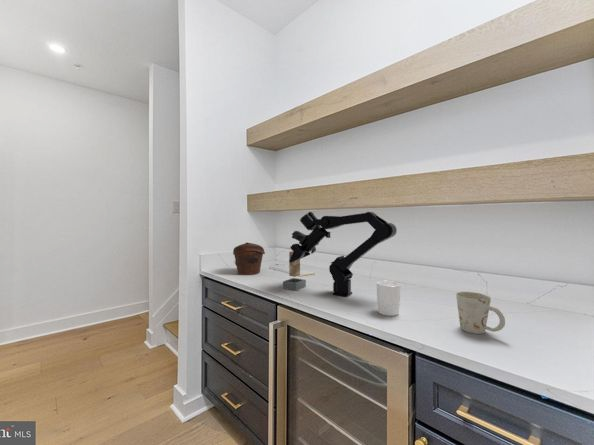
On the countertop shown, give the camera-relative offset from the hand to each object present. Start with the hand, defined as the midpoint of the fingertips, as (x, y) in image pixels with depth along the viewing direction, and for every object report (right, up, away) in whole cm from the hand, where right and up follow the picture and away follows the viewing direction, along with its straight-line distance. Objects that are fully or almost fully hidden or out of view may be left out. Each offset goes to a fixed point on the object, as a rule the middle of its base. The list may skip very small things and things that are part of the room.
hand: (292, 261), depth 128 cm
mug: (+54, -13, -50) cm, 75 cm away
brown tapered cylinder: (-26, -12, +34) cm, 44 cm away
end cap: (+1, -12, 0) cm, 12 cm away
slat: (+1, -7, 0) cm, 7 cm away
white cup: (+33, -13, -34) cm, 49 cm away
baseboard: (-2, -12, +38) cm, 40 cm away
